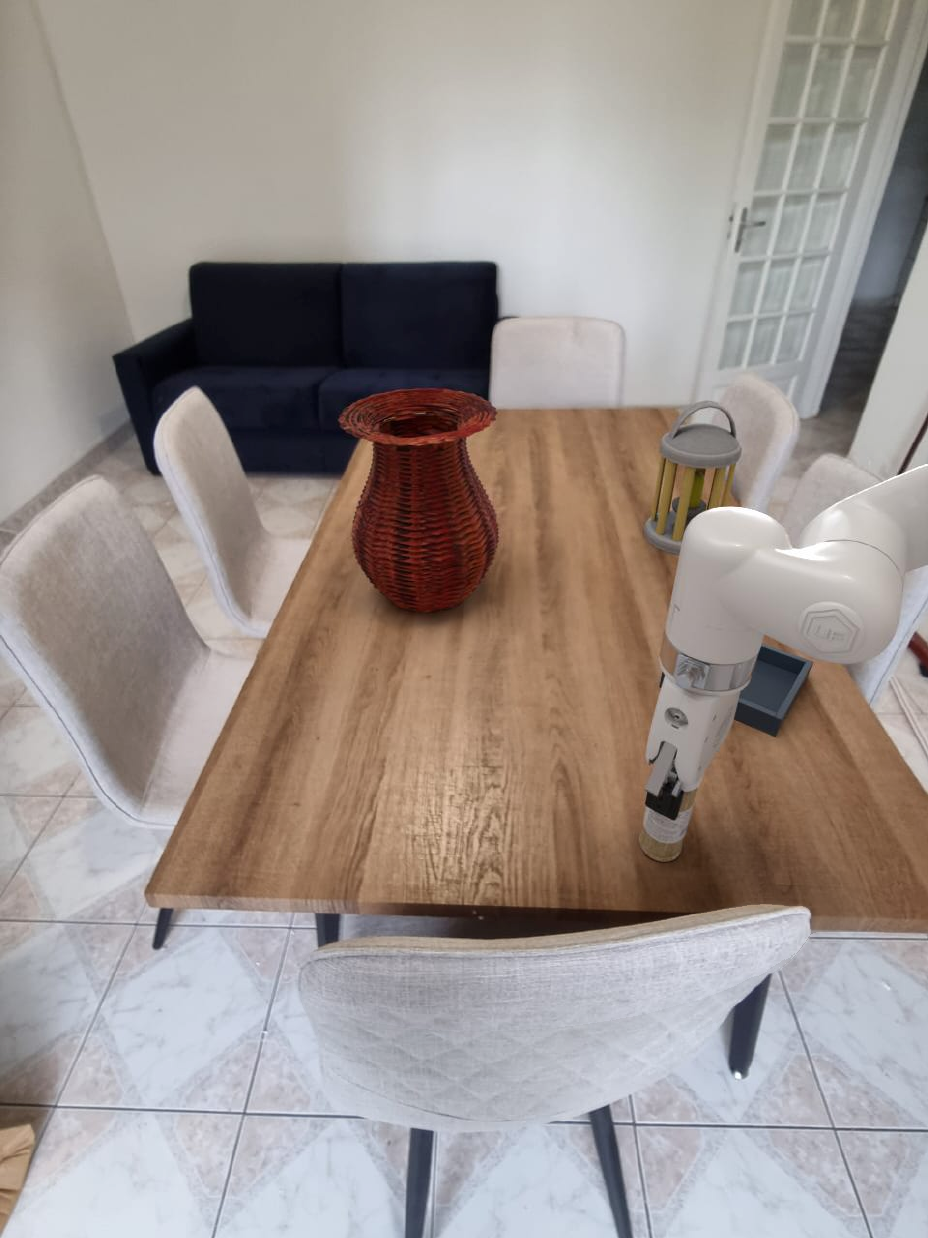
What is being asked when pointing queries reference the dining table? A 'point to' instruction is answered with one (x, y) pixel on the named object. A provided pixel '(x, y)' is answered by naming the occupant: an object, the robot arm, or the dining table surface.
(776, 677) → the tray
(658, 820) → the sprinkles bottle
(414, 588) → the vase
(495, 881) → the dining table surface
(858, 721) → the dining table surface
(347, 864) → the dining table surface
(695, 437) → the lantern
